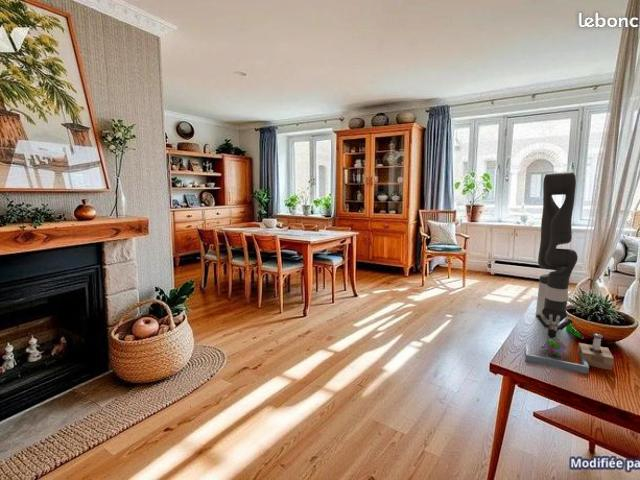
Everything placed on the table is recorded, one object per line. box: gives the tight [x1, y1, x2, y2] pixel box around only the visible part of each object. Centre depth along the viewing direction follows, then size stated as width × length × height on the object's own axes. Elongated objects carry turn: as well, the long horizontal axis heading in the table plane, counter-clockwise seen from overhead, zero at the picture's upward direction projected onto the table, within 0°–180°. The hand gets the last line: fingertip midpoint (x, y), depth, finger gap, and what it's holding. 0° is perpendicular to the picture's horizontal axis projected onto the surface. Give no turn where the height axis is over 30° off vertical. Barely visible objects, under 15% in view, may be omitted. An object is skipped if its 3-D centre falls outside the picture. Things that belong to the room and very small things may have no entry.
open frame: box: [524, 343, 590, 375], centre depth 133 cm, size 10×19×2 cm, turn 62°
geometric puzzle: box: [541, 337, 566, 358], centre depth 137 cm, size 7×7×8 cm
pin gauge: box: [592, 333, 603, 353], centre depth 132 cm, size 3×3×11 cm
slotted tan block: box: [576, 342, 615, 371], centre depth 133 cm, size 9×9×4 cm
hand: (551, 337), depth 147 cm, fingers closed
